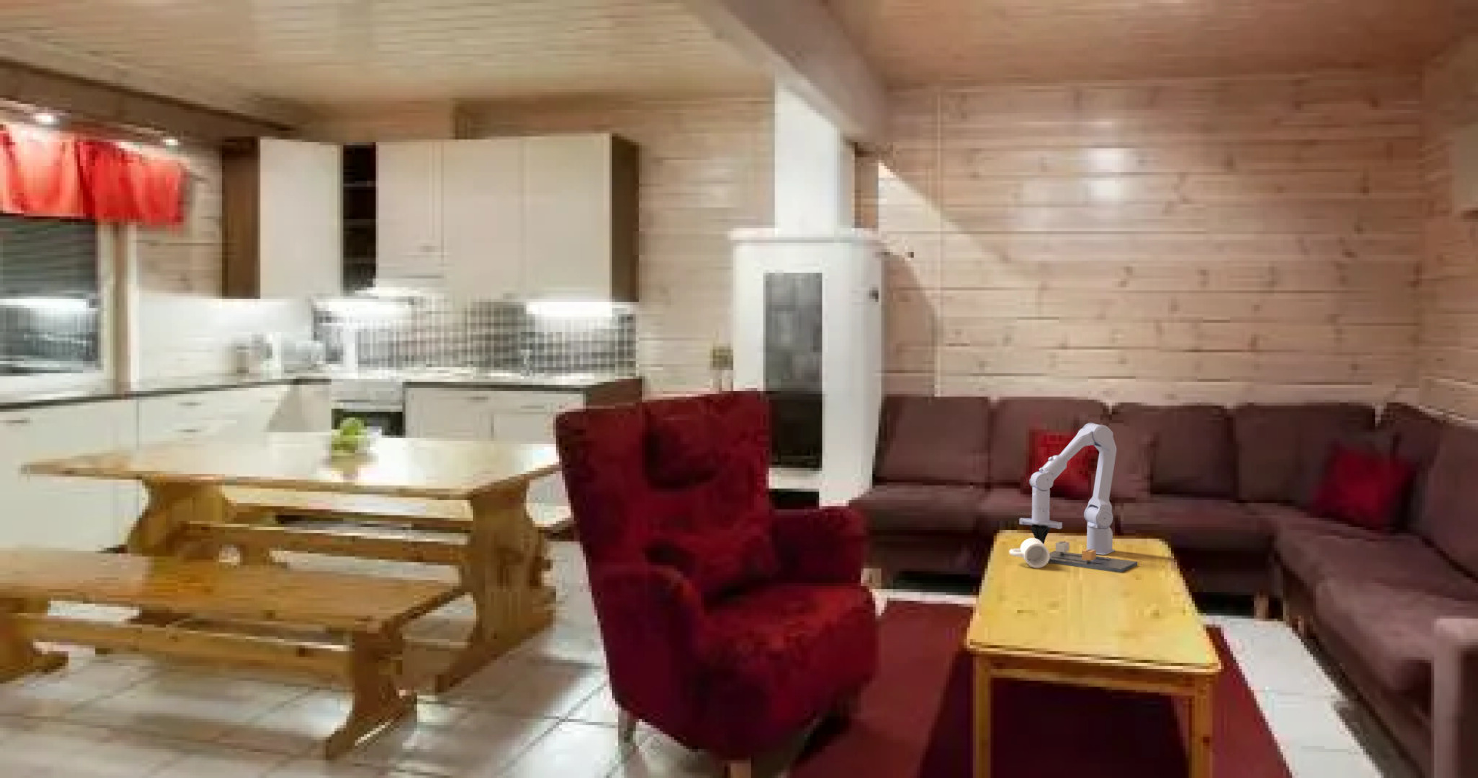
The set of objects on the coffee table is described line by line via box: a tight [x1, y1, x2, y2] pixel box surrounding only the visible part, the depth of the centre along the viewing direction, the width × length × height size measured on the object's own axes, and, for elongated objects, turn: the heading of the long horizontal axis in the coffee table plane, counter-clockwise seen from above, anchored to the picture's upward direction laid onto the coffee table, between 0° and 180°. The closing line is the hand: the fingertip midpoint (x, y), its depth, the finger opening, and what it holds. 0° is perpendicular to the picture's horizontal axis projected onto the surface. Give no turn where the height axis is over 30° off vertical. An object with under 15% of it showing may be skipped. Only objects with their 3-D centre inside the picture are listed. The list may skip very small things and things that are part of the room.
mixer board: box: [1047, 550, 1138, 574], centre depth 372 cm, size 14×28×1 cm, turn 51°
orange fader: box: [1081, 548, 1097, 562], centre depth 368 cm, size 4×3×4 cm
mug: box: [1008, 537, 1051, 569], centre depth 370 cm, size 12×10×8 cm
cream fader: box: [1055, 540, 1070, 553], centre depth 381 cm, size 4×3×4 cm
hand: (1040, 547), depth 386 cm, fingers closed
